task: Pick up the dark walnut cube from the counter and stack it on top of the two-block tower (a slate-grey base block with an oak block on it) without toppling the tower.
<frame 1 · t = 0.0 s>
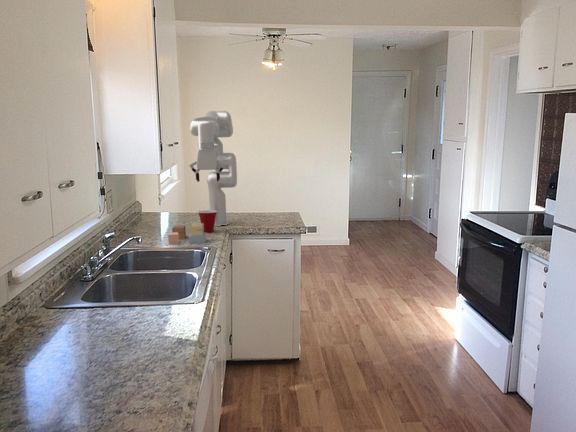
hand: (208, 181, 248), 31 cm above the worktop, tool pointing down, fingers open, 9 cm apart
walnut cube: (179, 237, 266), on the worktop
oak block: (197, 234, 256), point 4 cm above the worktop
base block: (197, 241, 256), on the worktop
plastic cup: (208, 232, 279), on the worktop
terracotta block: (173, 243, 254), on the worktop
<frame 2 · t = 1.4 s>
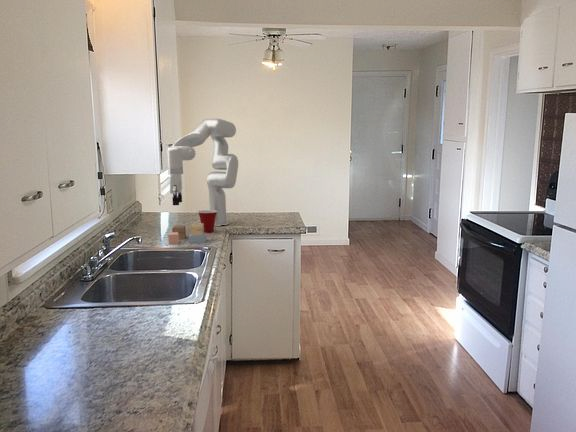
hand: (177, 203, 262), 18 cm above the worktop, tool pointing down, fingers open, 9 cm apart
nothing on the worktop moved.
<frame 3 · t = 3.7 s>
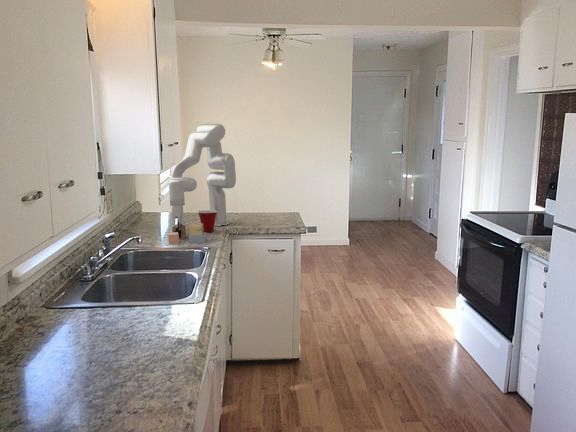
hand: (179, 235, 265), 1 cm above the worktop, tool pointing down, fingers closed on walnut cube, 6 cm apart
walnut cube: (179, 237, 266), on the worktop, touching gripper
oak block: (196, 234, 256), point 4 cm above the worktop, touching base block
base block: (198, 241, 257), on the worktop, touching oak block
everything else where it was.
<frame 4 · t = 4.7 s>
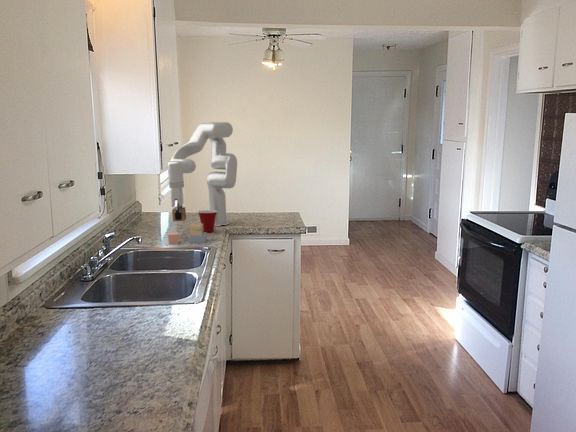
hand: (179, 217, 265), 10 cm above the worktop, tool pointing down, fingers closed on walnut cube, 6 cm apart
walnut cube: (179, 219, 265), point 9 cm above the worktop, touching gripper
everything else where it was.
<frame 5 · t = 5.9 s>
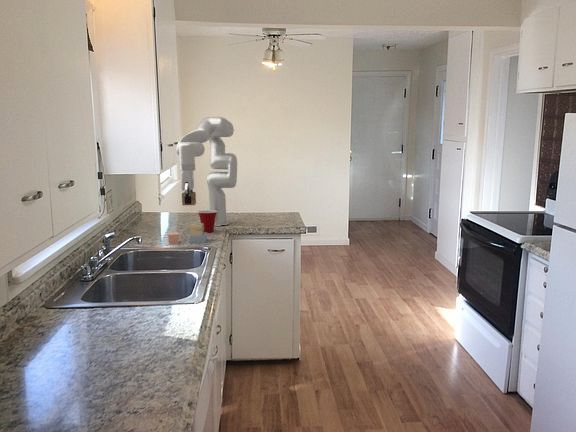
hand: (189, 202, 256), 20 cm above the worktop, tool pointing down, fingers closed on walnut cube, 6 cm apart
walnut cube: (189, 204, 256), point 19 cm above the worktop, touching gripper
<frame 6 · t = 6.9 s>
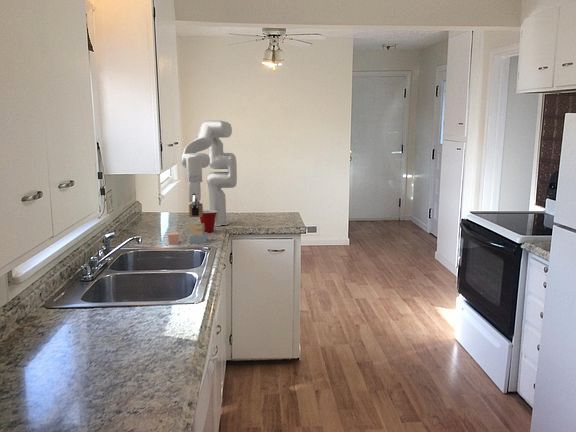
hand: (196, 214, 253), 14 cm above the worktop, tool pointing down, fingers closed on walnut cube, 6 cm apart
walnut cube: (196, 216, 254), point 13 cm above the worktop, touching gripper
when the fingers open (11 cm above the worktop, at t = 8.0 s): walnut cube drops 1 cm, point 9 cm above the worktop.
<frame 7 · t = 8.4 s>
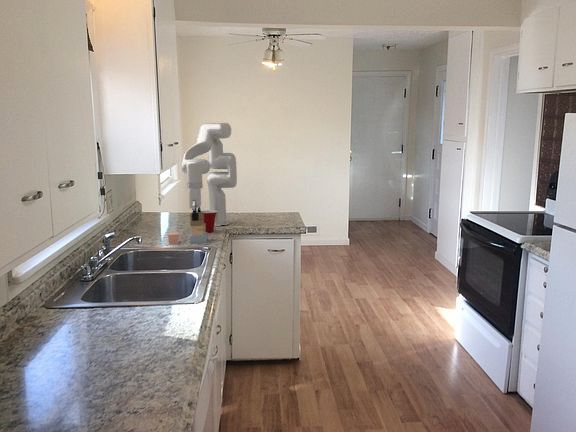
hand: (196, 218, 254), 12 cm above the worktop, tool pointing down, fingers open, 9 cm apart
walnut cube: (197, 224, 255), point 9 cm above the worktop
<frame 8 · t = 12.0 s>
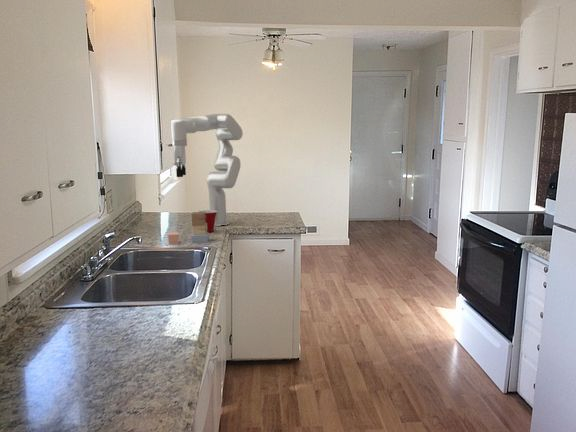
hand: (181, 176, 265), 32 cm above the worktop, tool pointing down, fingers open, 9 cm apart
walnut cube: (199, 224, 256), point 9 cm above the worktop, touching oak block
oak block: (200, 233, 257), point 4 cm above the worktop, touching base block, walnut cube
at the end: walnut cube 0.8 cm off-centre on the oak block, point 5.0 cm above the oak block's base; oak block tilted 0°; the gripper is holding nothing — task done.
